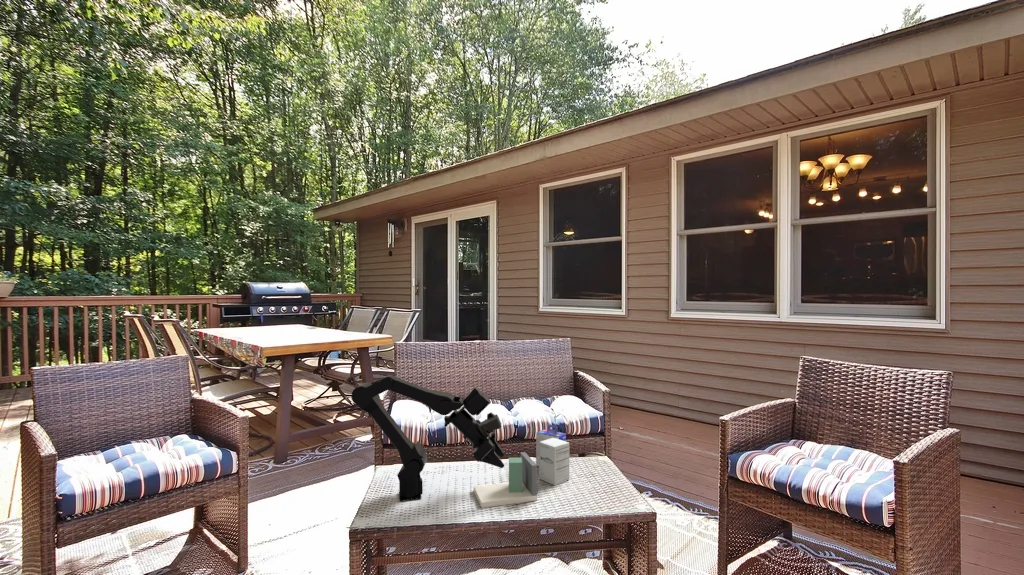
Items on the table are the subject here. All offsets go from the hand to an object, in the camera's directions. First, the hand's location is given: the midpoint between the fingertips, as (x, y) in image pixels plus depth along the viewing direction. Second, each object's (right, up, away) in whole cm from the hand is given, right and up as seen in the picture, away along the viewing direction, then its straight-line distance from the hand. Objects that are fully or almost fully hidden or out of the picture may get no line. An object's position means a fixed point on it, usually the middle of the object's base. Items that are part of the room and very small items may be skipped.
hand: (503, 461), depth 145 cm
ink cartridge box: (+17, -10, +22) cm, 30 cm away
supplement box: (+17, -10, +11) cm, 23 cm away
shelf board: (0, -10, -1) cm, 10 cm away
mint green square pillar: (+4, -9, 0) cm, 9 cm away
